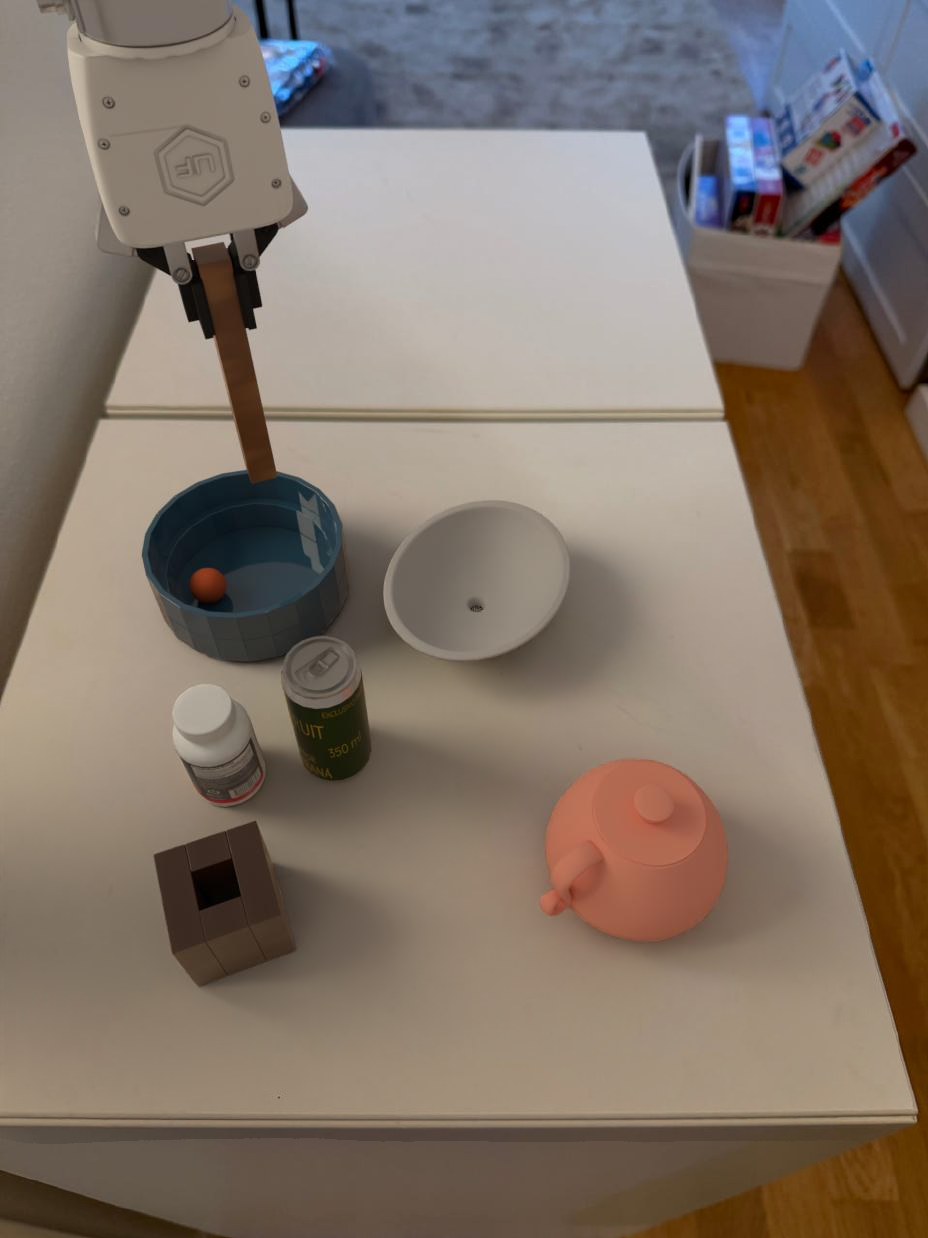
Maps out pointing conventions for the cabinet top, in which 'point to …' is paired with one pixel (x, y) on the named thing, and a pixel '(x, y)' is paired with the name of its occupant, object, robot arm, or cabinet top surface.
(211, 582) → the ball
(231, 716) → the pill bottle
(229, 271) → the brown wooden stick
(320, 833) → the cabinet top surface
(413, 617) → the dish
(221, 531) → the bowl
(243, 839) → the stick stand
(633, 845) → the pink teapot
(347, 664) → the green drink can
